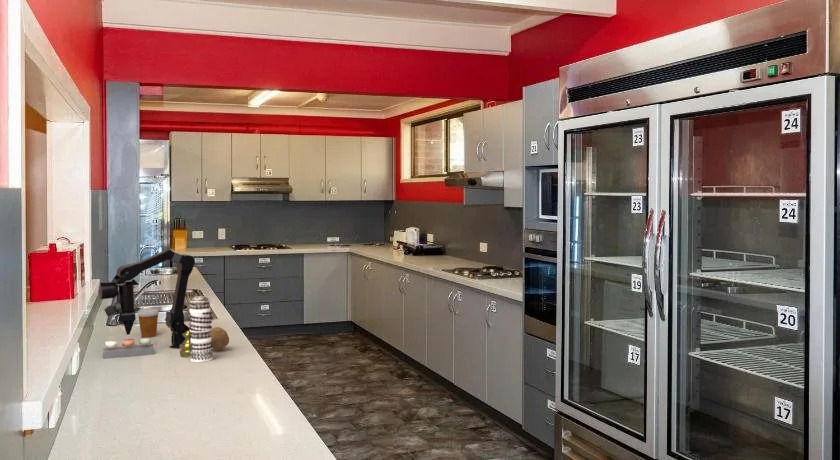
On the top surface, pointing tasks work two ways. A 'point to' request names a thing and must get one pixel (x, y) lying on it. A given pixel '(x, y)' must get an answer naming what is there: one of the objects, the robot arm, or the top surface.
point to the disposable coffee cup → (148, 322)
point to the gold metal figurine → (186, 345)
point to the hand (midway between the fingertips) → (128, 334)
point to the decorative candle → (200, 329)
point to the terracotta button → (128, 342)
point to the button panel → (128, 351)
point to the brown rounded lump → (219, 338)
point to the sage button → (145, 341)
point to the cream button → (111, 343)
